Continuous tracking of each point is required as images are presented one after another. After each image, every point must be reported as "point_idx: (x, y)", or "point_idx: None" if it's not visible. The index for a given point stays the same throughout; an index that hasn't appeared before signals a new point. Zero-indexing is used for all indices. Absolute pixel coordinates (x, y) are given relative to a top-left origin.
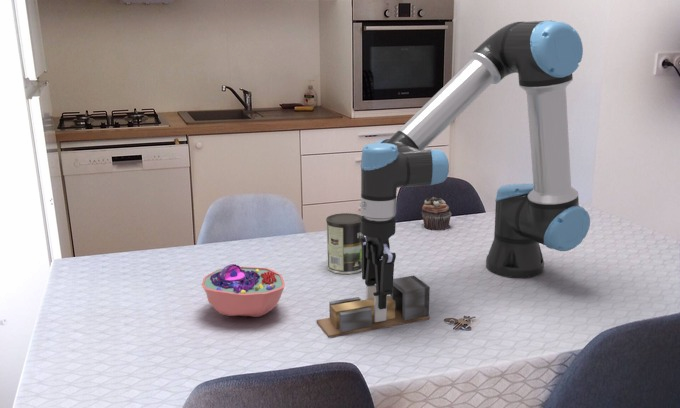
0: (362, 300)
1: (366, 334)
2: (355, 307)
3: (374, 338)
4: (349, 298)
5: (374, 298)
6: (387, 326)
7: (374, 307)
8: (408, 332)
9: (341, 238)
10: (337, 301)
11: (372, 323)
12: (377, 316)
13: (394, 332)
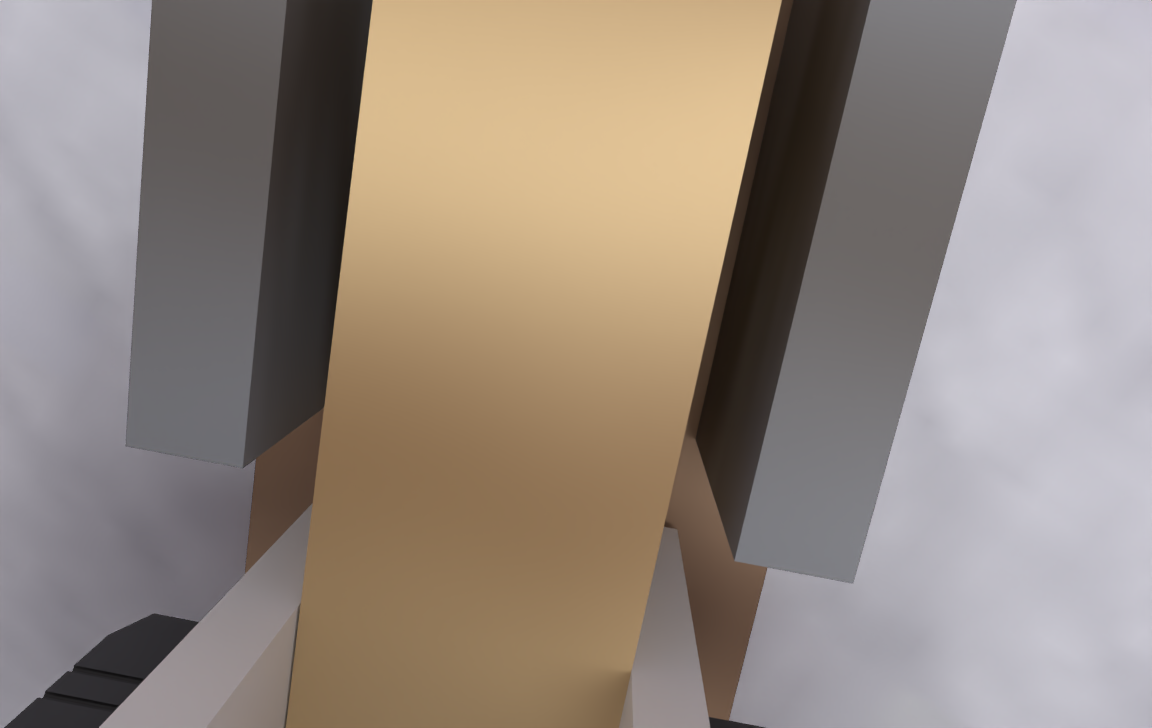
0: (633, 546)
1: None
2: (395, 210)
3: (50, 233)
4: (902, 366)
5: (197, 705)
6: None
7: (290, 582)
8: (20, 677)
9: None
10: (941, 9)
11: None
12: None
13: (91, 545)
